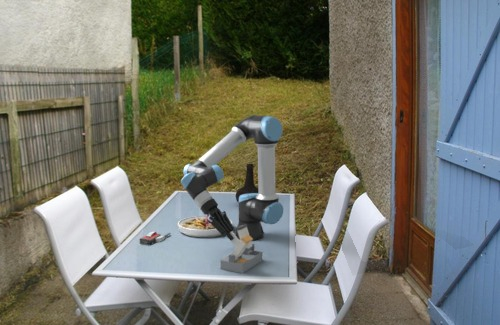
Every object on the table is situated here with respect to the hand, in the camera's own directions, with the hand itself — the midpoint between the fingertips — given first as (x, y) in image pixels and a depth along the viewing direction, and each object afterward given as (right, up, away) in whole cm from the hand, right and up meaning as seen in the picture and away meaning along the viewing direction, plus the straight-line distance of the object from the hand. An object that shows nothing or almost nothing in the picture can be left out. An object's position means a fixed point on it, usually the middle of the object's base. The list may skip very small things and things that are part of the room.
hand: (238, 245), depth 231 cm
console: (+1, -10, +8) cm, 13 cm away
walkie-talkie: (-44, -5, +44) cm, 62 cm away
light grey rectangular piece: (+4, -4, +12) cm, 14 cm away
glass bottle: (+4, +7, +122) cm, 122 cm away
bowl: (-20, -2, +61) cm, 65 cm away
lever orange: (-1, -5, +2) cm, 6 cm away
